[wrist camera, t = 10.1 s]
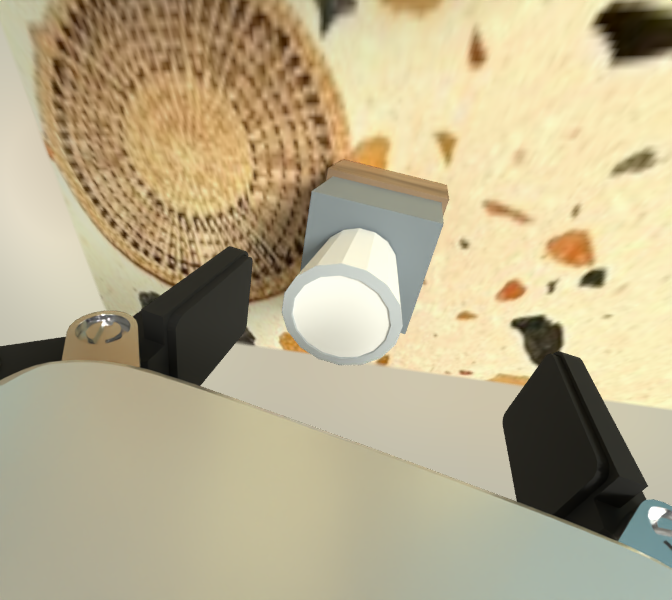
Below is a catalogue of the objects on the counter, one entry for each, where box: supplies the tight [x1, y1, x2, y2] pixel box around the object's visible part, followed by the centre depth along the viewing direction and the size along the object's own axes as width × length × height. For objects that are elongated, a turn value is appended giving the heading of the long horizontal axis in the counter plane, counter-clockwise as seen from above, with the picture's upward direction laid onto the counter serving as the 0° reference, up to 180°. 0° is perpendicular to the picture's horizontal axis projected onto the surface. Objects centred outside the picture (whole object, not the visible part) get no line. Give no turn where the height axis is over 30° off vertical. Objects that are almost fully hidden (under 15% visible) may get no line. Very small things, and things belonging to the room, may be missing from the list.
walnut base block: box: [326, 159, 449, 215], centre depth 34 cm, size 10×10×6 cm
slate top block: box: [300, 176, 443, 334], centre depth 28 cm, size 9×9×6 cm
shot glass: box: [282, 228, 403, 365], centre depth 23 cm, size 7×7×7 cm
